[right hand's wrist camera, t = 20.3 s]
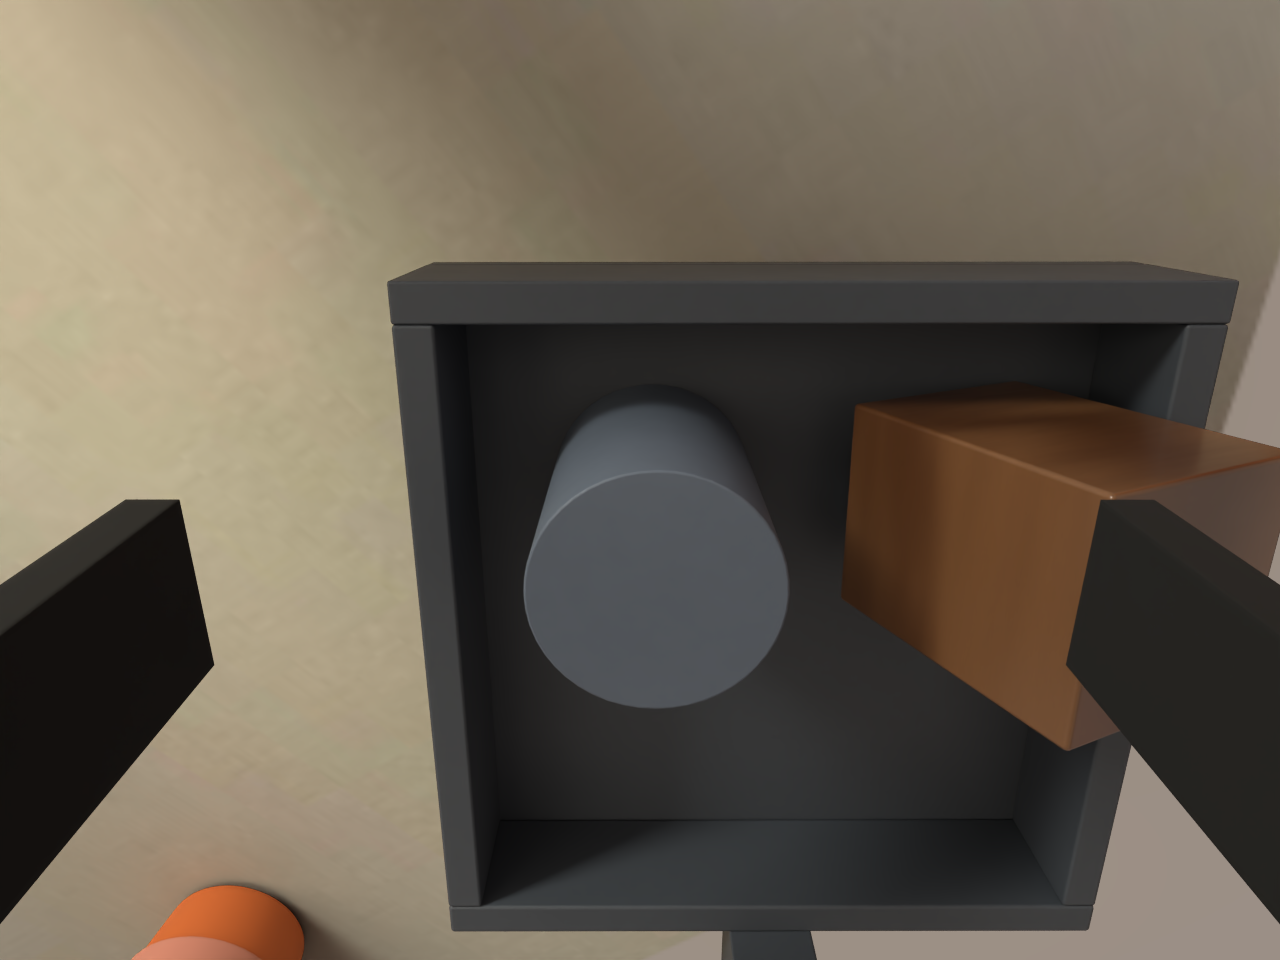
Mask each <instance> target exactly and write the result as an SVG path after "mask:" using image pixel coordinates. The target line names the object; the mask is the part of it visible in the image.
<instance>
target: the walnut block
mask: <svg viewBox="0 0 1280 960" xmlns="http://www.w3.org/2000/svg"><path fill="white" fill-rule="evenodd" d="M1100 500H1156V501H1157V502H1159V503H1160V504H1162V505H1163V506H1164V507H1166V508H1167V509H1169V510H1170V511H1172V512H1173V513H1175V514H1176V515H1178V516H1179V517H1181V518H1182V519H1184V520H1185V521H1187V522H1188V523H1189V524H1191V525H1192V526H1194V527H1195V528H1197V529H1198V530H1200V531H1201V532H1203V533H1204V534H1206V535H1207V536H1209V537H1210V538H1212V539H1213V540H1214V541H1216V542H1217V543H1219V544H1220V545H1222V546H1223V547H1225V548H1226V549H1228V550H1229V551H1231V552H1232V553H1234V554H1235V555H1237V556H1238V557H1239V558H1241V559H1242V560H1244V561H1245V562H1247V563H1248V564H1250V565H1251V566H1253V567H1254V568H1256V569H1257V570H1259V571H1260V572H1262V573H1263V574H1264V575H1266V576H1267V577H1268V575H1269V571H1270V568H1271V563H1272V560H1273V556H1274V552H1275V548H1276V545H1277V541H1278V537H1279V533H1280V448H1277V447H1273V446H1269V445H1265V444H1261V443H1257V442H1253V441H1249V440H1245V439H1241V438H1237V437H1233V436H1229V435H1225V434H1222V433H1218V432H1214V431H1210V430H1206V429H1202V428H1198V427H1194V426H1190V425H1186V424H1182V423H1178V422H1174V421H1170V420H1166V419H1163V418H1159V417H1155V416H1151V415H1147V414H1143V413H1139V412H1135V411H1131V410H1127V409H1123V408H1119V407H1115V406H1111V405H1108V404H1104V403H1100V402H1096V401H1092V400H1088V399H1084V398H1080V397H1076V396H1072V395H1068V394H1064V393H1060V392H1056V391H1053V390H1049V389H1045V388H1041V387H1037V386H1033V385H1029V384H1025V383H1021V382H1017V381H1012V382H1005V383H998V384H991V385H984V386H978V387H971V388H964V389H957V390H950V391H943V392H936V393H929V394H922V395H915V396H908V397H901V398H894V399H887V400H880V401H873V402H866V403H860V404H857V405H856V406H855V412H854V425H853V439H852V452H851V465H850V479H849V492H848V506H847V519H846V533H845V546H844V559H843V573H842V586H841V598H842V600H844V601H845V602H847V603H848V604H850V605H851V606H853V607H854V608H856V609H857V610H859V611H860V612H862V613H863V614H864V615H866V616H867V617H869V618H870V619H872V620H873V621H875V622H876V623H878V624H879V625H881V626H882V627H884V628H885V629H887V630H888V631H889V632H891V633H892V634H894V635H895V636H897V637H898V638H900V639H901V640H903V641H904V642H906V643H907V644H909V645H910V646H912V647H913V648H914V649H916V650H917V651H919V652H920V653H922V654H923V655H925V656H926V657H928V658H929V659H931V660H932V661H934V662H935V663H937V664H938V665H939V666H941V667H942V668H944V669H945V670H947V671H948V672H950V673H951V674H953V675H954V676H956V677H957V678H959V679H960V680H962V681H963V682H964V683H966V684H967V685H969V686H970V687H972V688H973V689H975V690H976V691H978V692H979V693H981V694H982V695H984V696H985V697H986V698H988V699H989V700H991V701H992V702H994V703H995V704H997V705H998V706H1000V707H1001V708H1003V709H1004V710H1006V711H1007V712H1009V713H1010V714H1011V715H1013V716H1014V717H1016V718H1017V719H1019V720H1020V721H1022V722H1023V723H1025V724H1026V725H1028V726H1029V727H1031V728H1032V729H1034V730H1035V731H1036V732H1038V733H1039V734H1041V735H1042V736H1044V737H1045V738H1047V739H1048V740H1050V741H1051V742H1053V743H1054V744H1056V745H1057V746H1059V747H1060V748H1061V749H1063V750H1066V751H1070V750H1072V749H1075V748H1078V747H1080V746H1083V745H1085V744H1088V743H1091V742H1093V741H1096V740H1098V739H1101V738H1103V737H1106V736H1109V735H1111V734H1114V733H1116V732H1119V731H1120V730H1119V729H1118V728H1117V726H1116V725H1115V724H1114V723H1113V722H1112V720H1111V719H1110V718H1109V717H1108V716H1107V714H1106V713H1105V712H1104V711H1103V709H1102V708H1101V707H1100V706H1099V705H1098V703H1097V702H1096V701H1095V700H1094V699H1093V697H1092V696H1091V695H1090V694H1089V693H1088V691H1087V690H1086V689H1085V688H1084V686H1083V685H1082V684H1081V683H1080V682H1079V680H1078V679H1077V678H1076V677H1075V676H1074V674H1073V673H1072V672H1071V671H1070V670H1069V668H1068V667H1067V666H1066V661H1067V656H1068V652H1069V647H1070V642H1071V637H1072V633H1073V628H1074V623H1075V619H1076V614H1077V609H1078V604H1079V600H1080V595H1081V590H1082V585H1083V581H1084V576H1085V571H1086V566H1087V562H1088V557H1089V552H1090V548H1091V543H1092V538H1093V533H1094V529H1095V524H1096V519H1097V514H1098V510H1099V505H1100Z"/></svg>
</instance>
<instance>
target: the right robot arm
mask: <svg viewBox="0 0 1280 960" xmlns="http://www.w3.org/2000/svg"><path fill="white" fill-rule="evenodd" d="M213 666H214V661H213V656H212V652H211V647H210V642H209V637H208V633H207V628H206V623H205V619H204V614H203V609H202V604H201V600H200V595H199V590H198V585H197V581H196V576H195V571H194V566H193V562H192V557H191V552H190V548H189V543H188V538H187V533H186V529H185V524H184V519H183V514H182V510H181V505H180V500H124V501H123V502H121V503H120V504H118V505H117V506H116V507H114V508H113V509H111V510H110V511H108V512H107V513H105V514H104V515H102V516H101V517H99V518H98V519H96V520H95V521H93V522H92V523H91V524H89V525H88V526H86V527H85V528H83V529H82V530H80V531H79V532H77V533H76V534H74V535H73V536H71V537H70V538H68V539H67V540H66V541H64V542H63V543H61V544H60V545H58V546H57V547H55V548H54V549H52V550H51V551H49V552H48V553H46V554H45V555H43V556H42V557H41V558H39V559H38V560H36V561H35V562H33V563H32V564H30V565H29V566H27V567H26V568H24V569H23V570H21V571H20V572H18V573H17V574H16V575H14V576H13V577H11V578H10V579H8V580H7V581H5V582H4V583H2V584H1V585H0V924H1V922H2V921H3V920H4V919H5V918H6V916H7V915H8V914H9V913H10V911H11V910H12V909H13V908H14V907H15V905H16V904H17V903H18V902H19V901H20V899H21V898H22V897H23V896H24V895H25V893H26V892H27V891H28V890H29V889H30V887H31V886H32V885H33V884H34V882H35V881H36V880H37V879H38V878H39V876H40V875H41V874H42V873H43V872H44V870H45V869H46V868H47V867H48V866H49V864H50V863H51V862H52V861H53V859H54V858H55V857H56V856H57V855H58V853H59V852H60V851H61V850H62V849H63V847H64V846H65V845H66V844H67V843H68V841H69V840H70V839H71V838H72V836H73V835H74V834H75V833H76V832H77V830H78V829H79V828H80V827H81V826H82V824H83V823H84V822H85V821H86V820H87V818H88V817H89V816H90V815H91V813H92V812H93V811H94V810H95V809H96V807H97V806H98V805H99V804H100V803H101V801H102V800H103V799H104V798H105V797H106V795H107V794H108V793H109V792H110V791H111V789H112V788H113V787H114V786H115V784H116V783H117V782H118V781H119V780H120V778H121V777H122V776H123V775H124V774H125V772H126V771H127V770H128V769H129V768H130V766H131V765H132V764H133V763H134V761H135V760H136V759H137V758H138V757H139V755H140V754H141V753H142V752H143V751H144V749H145V748H146V747H147V746H148V745H149V743H150V742H151V741H152V740H153V738H154V737H155V736H156V735H157V734H158V732H159V731H160V730H161V729H162V728H163V726H164V725H165V724H166V723H167V722H168V720H169V719H170V718H171V717H172V715H173V714H174V713H175V712H176V711H177V709H178V708H179V707H180V706H181V705H182V703H183V702H184V701H185V700H186V699H187V697H188V696H189V695H190V694H191V693H192V691H193V690H194V689H195V688H196V686H197V685H198V684H199V683H200V682H201V680H202V679H203V678H204V677H205V676H206V674H207V673H208V672H209V671H210V670H211V668H212V667H213ZM1066 666H1067V667H1068V668H1069V670H1070V671H1071V672H1072V673H1073V674H1074V676H1075V677H1076V678H1077V679H1078V680H1079V682H1080V683H1081V684H1082V685H1083V686H1084V688H1085V689H1086V690H1087V691H1088V693H1089V694H1090V695H1091V696H1092V697H1093V699H1094V700H1095V701H1096V702H1097V703H1098V705H1099V706H1100V707H1101V708H1102V709H1103V711H1104V712H1105V713H1106V714H1107V716H1108V717H1109V718H1110V719H1111V720H1112V722H1113V723H1114V724H1115V725H1116V726H1117V728H1118V729H1119V730H1120V731H1121V732H1122V734H1123V735H1124V736H1125V737H1126V738H1127V740H1128V741H1129V742H1130V743H1131V745H1132V746H1133V747H1134V748H1135V749H1136V751H1137V752H1138V753H1139V754H1140V755H1141V757H1142V758H1143V759H1144V760H1145V761H1146V763H1147V764H1148V765H1149V766H1150V768H1151V769H1152V770H1153V771H1154V772H1155V774H1156V775H1157V776H1158V777H1159V778H1160V780H1161V781H1162V782H1163V783H1164V784H1165V786H1166V787H1167V788H1168V789H1169V791H1170V792H1171V793H1172V794H1173V795H1174V797H1175V798H1176V799H1177V800H1178V801H1179V803H1180V804H1181V805H1182V806H1183V807H1184V809H1185V810H1186V811H1187V812H1188V813H1189V815H1190V816H1191V817H1192V818H1193V820H1194V821H1195V822H1196V823H1197V824H1198V826H1199V827H1200V828H1201V829H1202V830H1203V832H1204V833H1205V834H1206V835H1207V836H1208V838H1209V839H1210V840H1211V841H1212V843H1213V844H1214V845H1215V846H1216V847H1217V849H1218V850H1219V851H1220V852H1221V853H1222V855H1223V856H1224V857H1225V858H1226V859H1227V861H1228V862H1229V863H1230V864H1231V866H1232V867H1233V868H1234V869H1235V870H1236V872H1237V873H1238V874H1239V875H1240V876H1241V878H1242V879H1243V880H1244V881H1245V882H1246V884H1247V885H1248V886H1249V887H1250V889H1251V890H1252V891H1253V892H1254V893H1255V895H1256V896H1257V897H1258V898H1259V899H1260V901H1261V902H1262V903H1263V904H1264V905H1265V907H1266V908H1267V909H1268V910H1269V911H1270V913H1271V914H1272V915H1273V916H1274V918H1275V919H1276V920H1277V921H1278V922H1279V924H1280V585H1279V584H1278V583H1276V582H1275V581H1273V580H1272V579H1270V578H1269V577H1267V576H1266V575H1264V574H1263V573H1262V572H1260V571H1259V570H1257V569H1256V568H1254V567H1253V566H1251V565H1250V564H1248V563H1247V562H1245V561H1244V560H1242V559H1241V558H1239V557H1238V556H1237V555H1235V554H1234V553H1232V552H1231V551H1229V550H1228V549H1226V548H1225V547H1223V546H1222V545H1220V544H1219V543H1217V542H1216V541H1214V540H1213V539H1212V538H1210V537H1209V536H1207V535H1206V534H1204V533H1203V532H1201V531H1200V530H1198V529H1197V528H1195V527H1194V526H1192V525H1191V524H1189V523H1188V522H1187V521H1185V520H1184V519H1182V518H1181V517H1179V516H1178V515H1176V514H1175V513H1173V512H1172V511H1170V510H1169V509H1167V508H1166V507H1164V506H1163V505H1162V504H1160V503H1159V502H1157V501H1156V500H1100V505H1099V510H1098V514H1097V519H1096V524H1095V529H1094V533H1093V538H1092V543H1091V548H1090V552H1089V557H1088V562H1087V566H1086V571H1085V576H1084V581H1083V585H1082V590H1081V595H1080V600H1079V604H1078V609H1077V614H1076V619H1075V623H1074V628H1073V633H1072V637H1071V642H1070V647H1069V652H1068V656H1067V661H1066Z"/></svg>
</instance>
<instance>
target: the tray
mask: <svg viewBox="0 0 1280 960" xmlns="http://www.w3.org/2000/svg"><path fill="white" fill-rule="evenodd" d="M1238 285H1239V281H1237V280H1233V279H1228V278H1222V277H1216V276H1211V275H1205V274H1199V273H1194V272H1188V271H1182V270H1177V269H1171V268H1165V267H1160V266H1154V265H1149V264H1142V263H1136V262H434V263H431V264H429V265H426V266H424V267H421V268H419V269H416V270H414V271H412V272H409V273H407V274H405V275H402V276H400V277H398V278H395V279H393V280H391V281H388V283H387V287H388V297H389V307H390V317H391V323H392V324H394V325H393V327H392V334H393V344H394V354H395V364H396V374H397V385H398V395H399V405H400V415H401V425H402V435H403V445H404V455H405V465H406V475H407V486H408V496H409V506H410V516H411V526H412V536H413V546H414V556H415V566H416V577H417V587H418V597H419V607H420V617H421V627H422V637H423V647H424V657H425V668H426V678H427V688H428V698H429V708H430V718H431V728H432V738H433V748H434V759H435V769H436V779H437V789H438V799H439V809H440V819H441V829H442V839H443V849H444V860H445V870H446V880H447V890H448V900H449V905H450V907H449V909H450V919H451V928H452V930H453V931H723V937H722V960H817V958H816V954H815V949H814V945H813V941H812V936H811V932H810V931H1045V930H1046V931H1050V930H1052V931H1055V930H1056V931H1059V930H1061V931H1062V930H1063V931H1064V930H1088V929H1089V925H1090V921H1091V917H1092V912H1093V905H1094V904H1095V900H1096V895H1097V891H1098V887H1099V883H1100V878H1101V874H1102V870H1103V865H1104V861H1105V857H1106V852H1107V848H1108V844H1109V839H1110V835H1111V830H1112V826H1113V822H1114V817H1115V813H1116V809H1117V805H1118V800H1119V796H1120V792H1121V788H1122V783H1123V779H1124V775H1125V770H1126V766H1127V761H1128V757H1129V753H1130V749H1131V743H1130V742H1129V741H1128V740H1127V738H1126V737H1125V736H1124V735H1123V734H1122V732H1121V731H1119V732H1116V733H1114V734H1111V735H1109V736H1106V737H1103V738H1101V739H1098V740H1096V741H1093V742H1091V743H1088V744H1085V745H1083V746H1080V747H1078V748H1075V749H1072V750H1070V751H1066V750H1063V749H1061V748H1060V747H1059V746H1057V745H1056V744H1054V743H1053V742H1051V741H1050V740H1048V739H1047V738H1045V737H1044V736H1042V735H1041V734H1039V733H1038V732H1036V731H1035V730H1034V729H1032V728H1031V727H1029V726H1028V725H1026V724H1025V723H1023V722H1022V721H1020V720H1019V719H1017V718H1016V717H1014V716H1013V715H1011V714H1010V713H1009V712H1007V711H1006V710H1004V709H1003V708H1001V707H1000V706H998V705H997V704H995V703H994V702H992V701H991V700H989V699H988V698H986V697H985V696H984V695H982V694H981V693H979V692H978V691H976V690H975V689H973V688H972V687H970V686H969V685H967V684H966V683H964V682H963V681H962V680H960V679H959V678H957V677H956V676H954V675H953V674H951V673H950V672H948V671H947V670H945V669H944V668H942V667H941V666H939V665H938V664H937V663H935V662H934V661H932V660H931V659H929V658H928V657H926V656H925V655H923V654H922V653H920V652H919V651H917V650H916V649H914V648H913V647H912V646H910V645H909V644H907V643H906V642H904V641H903V640H901V639H900V638H898V637H897V636H895V635H894V634H892V633H891V632H889V631H888V630H887V629H885V628H884V627H882V626H881V625H879V624H878V623H876V622H875V621H873V620H872V619H870V618H869V617H867V616H866V615H864V614H863V613H862V612H860V611H859V610H857V609H856V608H854V607H853V606H851V605H850V604H848V603H847V602H845V601H844V600H842V598H841V586H842V573H843V559H844V546H845V533H846V519H847V506H848V492H849V479H850V465H851V452H852V439H853V425H854V412H855V406H856V405H857V404H860V403H866V402H873V401H880V400H887V399H894V398H901V397H908V396H915V395H922V394H929V393H936V392H943V391H950V390H957V389H964V388H971V387H978V386H984V385H991V384H998V383H1005V382H1012V381H1017V382H1021V383H1025V384H1029V385H1033V386H1037V387H1041V388H1045V389H1049V390H1053V391H1056V392H1060V393H1064V394H1068V395H1072V396H1076V397H1080V398H1084V399H1088V400H1092V401H1096V402H1100V403H1104V404H1108V405H1111V406H1115V407H1119V408H1123V409H1127V410H1131V411H1135V412H1139V413H1143V414H1147V415H1151V416H1155V417H1159V418H1163V419H1166V420H1170V421H1174V422H1178V423H1182V424H1186V425H1190V426H1194V427H1198V428H1202V429H1205V425H1206V420H1207V416H1208V412H1209V408H1210V403H1211V399H1212V395H1213V390H1214V386H1215V382H1216V377H1217V373H1218V369H1219V364H1220V360H1221V356H1222V351H1223V347H1224V343H1225V338H1226V334H1227V330H1228V326H1227V325H1226V324H1227V323H1229V322H1230V320H1231V316H1232V311H1233V307H1234V303H1235V298H1236V294H1237V290H1238ZM647 384H657V385H668V386H673V387H678V388H681V389H684V390H687V391H690V392H692V393H694V394H696V395H698V396H700V397H702V398H704V399H705V400H707V401H708V402H710V403H711V404H713V405H714V406H715V407H716V408H717V409H719V410H720V411H721V412H722V413H723V414H724V415H725V417H726V418H727V419H728V420H729V421H730V422H731V424H732V425H733V427H734V429H735V430H736V432H737V433H738V436H739V438H740V440H741V442H742V444H743V447H744V450H745V452H746V455H747V457H748V460H749V463H750V465H751V468H752V470H753V473H754V476H755V478H756V481H757V484H758V486H759V489H760V491H761V494H762V497H763V499H764V502H765V504H766V507H767V510H768V512H769V515H770V518H771V520H772V523H773V525H774V528H775V531H776V533H777V536H778V538H779V541H780V544H781V546H782V549H783V552H784V555H785V559H786V562H787V566H788V573H789V579H790V596H789V603H788V610H787V614H786V617H785V621H784V624H783V627H782V629H781V631H780V634H779V636H778V638H777V640H776V642H775V643H774V645H773V647H772V648H771V650H770V651H769V653H768V655H767V656H766V657H765V658H764V659H763V661H762V662H761V663H760V664H759V665H758V667H756V668H755V669H754V670H753V671H752V672H751V673H750V674H749V675H748V676H747V677H746V678H744V679H743V680H742V681H740V682H739V683H737V684H736V685H735V686H733V687H732V688H730V689H728V690H726V691H724V692H723V693H721V694H719V695H717V696H714V697H712V698H709V699H707V700H705V701H701V702H698V703H694V704H691V705H687V706H681V707H675V708H662V709H649V708H637V707H631V706H625V705H621V704H617V703H614V702H610V701H607V700H605V699H602V698H600V697H597V696H595V695H593V694H591V693H589V692H587V691H586V690H584V689H582V688H580V687H579V686H577V685H576V684H574V683H573V682H572V681H570V680H569V679H568V678H566V677H565V676H564V675H563V674H562V673H561V672H560V671H559V670H558V669H557V668H556V667H555V666H554V665H553V664H552V663H551V661H550V660H549V659H548V658H547V657H546V655H545V654H544V653H543V651H542V649H541V648H540V646H539V644H538V643H537V641H536V639H535V637H534V635H533V632H532V630H531V628H530V625H529V622H528V618H527V614H526V611H525V603H524V576H525V570H526V564H527V561H528V557H529V554H530V550H531V547H532V543H533V540H534V536H535V533H536V530H537V526H538V523H539V519H540V516H541V512H542V509H543V505H544V502H545V499H546V495H547V492H548V488H549V485H550V481H551V478H552V474H553V471H554V468H555V464H556V461H557V457H558V454H559V451H560V448H561V445H562V442H563V440H564V438H565V436H566V434H567V432H568V430H569V429H570V427H571V426H572V424H573V423H574V421H575V420H576V419H577V418H578V417H579V416H580V415H581V414H582V412H584V411H585V410H586V409H587V408H588V407H589V406H590V405H592V404H593V403H595V402H596V401H598V400H599V399H601V398H602V397H604V396H606V395H608V394H610V393H612V392H615V391H618V390H621V389H624V388H627V387H632V386H637V385H647Z"/></svg>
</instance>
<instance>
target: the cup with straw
mask: <svg viewBox="0 0 1280 960" xmlns="http://www.w3.org/2000/svg"><path fill="white" fill-rule="evenodd" d="M303 951H304V936H303V931H302V929H301V926H300V924H299V922H298V921H297V919H296V918H295V916H294V915H293V914H292V912H291V911H290V910H289V909H288V908H287V907H285V906H284V905H283V904H282V903H281V902H279V901H278V900H276V899H275V898H273V897H271V896H269V895H267V894H265V893H263V892H260V891H257V890H254V889H251V888H246V887H241V886H230V885H229V886H215V887H210V888H206V889H203V890H200V891H198V892H195V893H193V894H192V895H190V896H189V897H187V898H186V899H185V900H183V901H182V902H181V903H180V904H179V905H178V907H177V908H176V909H175V910H174V912H173V913H172V914H171V915H170V917H169V918H168V919H167V921H166V922H165V923H164V925H163V926H162V927H161V928H160V930H159V931H158V932H157V934H156V935H155V936H154V938H153V939H152V940H151V942H150V943H149V944H148V945H147V947H146V948H144V949H143V950H141V951H140V952H139V953H137V954H136V955H135V956H134V957H133V958H132V959H131V960H301V959H302V955H303Z"/></svg>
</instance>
